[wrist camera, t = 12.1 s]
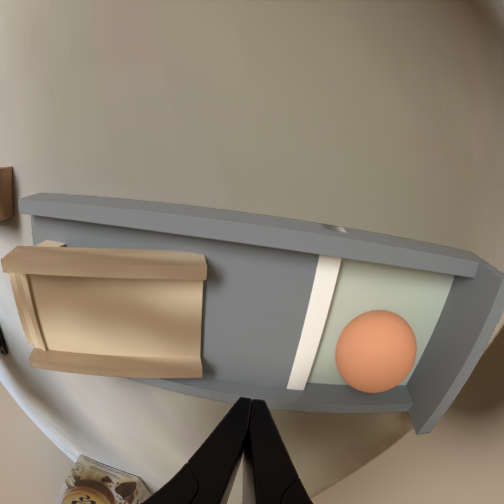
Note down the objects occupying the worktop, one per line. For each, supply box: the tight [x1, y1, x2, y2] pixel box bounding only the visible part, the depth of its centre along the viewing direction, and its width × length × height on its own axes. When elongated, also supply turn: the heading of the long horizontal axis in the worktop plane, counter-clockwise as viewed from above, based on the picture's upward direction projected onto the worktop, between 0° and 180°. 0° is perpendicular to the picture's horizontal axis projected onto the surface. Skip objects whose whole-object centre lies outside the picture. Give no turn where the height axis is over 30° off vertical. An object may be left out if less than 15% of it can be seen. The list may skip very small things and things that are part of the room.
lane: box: [18, 193, 504, 435], centre depth 13 cm, size 10×25×4 cm, turn 83°
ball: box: [335, 310, 417, 393], centre depth 12 cm, size 4×4×4 cm
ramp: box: [1, 240, 207, 378], centre depth 12 cm, size 6×10×6 cm, turn 83°
